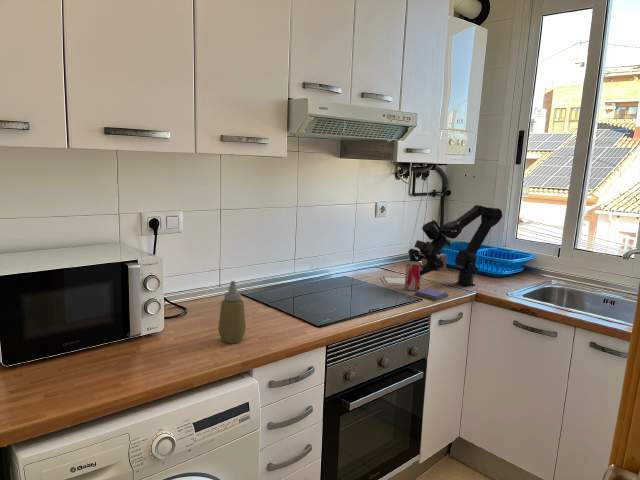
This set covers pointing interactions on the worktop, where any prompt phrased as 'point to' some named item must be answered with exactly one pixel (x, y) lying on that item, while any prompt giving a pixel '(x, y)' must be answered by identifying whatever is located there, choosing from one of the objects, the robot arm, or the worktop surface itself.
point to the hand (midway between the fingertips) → (413, 272)
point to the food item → (442, 257)
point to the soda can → (413, 276)
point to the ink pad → (431, 294)
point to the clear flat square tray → (393, 280)
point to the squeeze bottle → (232, 316)
